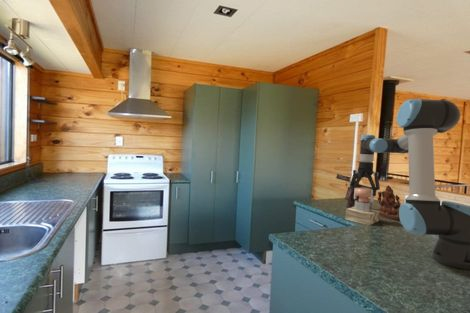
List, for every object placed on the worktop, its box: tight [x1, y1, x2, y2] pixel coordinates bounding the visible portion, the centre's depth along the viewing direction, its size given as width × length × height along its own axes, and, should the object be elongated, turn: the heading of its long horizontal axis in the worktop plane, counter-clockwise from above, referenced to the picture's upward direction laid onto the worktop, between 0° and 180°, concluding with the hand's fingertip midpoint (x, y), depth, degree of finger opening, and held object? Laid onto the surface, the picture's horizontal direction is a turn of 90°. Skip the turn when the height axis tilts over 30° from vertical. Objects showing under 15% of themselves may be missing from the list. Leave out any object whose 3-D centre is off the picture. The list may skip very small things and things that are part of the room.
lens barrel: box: [354, 200, 373, 212], centre depth 167 cm, size 8×8×5 cm
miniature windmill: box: [335, 166, 372, 209], centre depth 195 cm, size 25×11×30 cm, turn 62°
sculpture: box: [377, 185, 402, 222], centre depth 176 cm, size 17×8×20 cm, turn 22°
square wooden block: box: [344, 206, 381, 226], centre depth 168 cm, size 14×14×6 cm
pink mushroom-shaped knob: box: [356, 188, 373, 203], centre depth 167 cm, size 9×9×9 cm
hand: (363, 200), depth 167 cm, fingers closed on pink mushroom-shaped knob, 9 cm apart
